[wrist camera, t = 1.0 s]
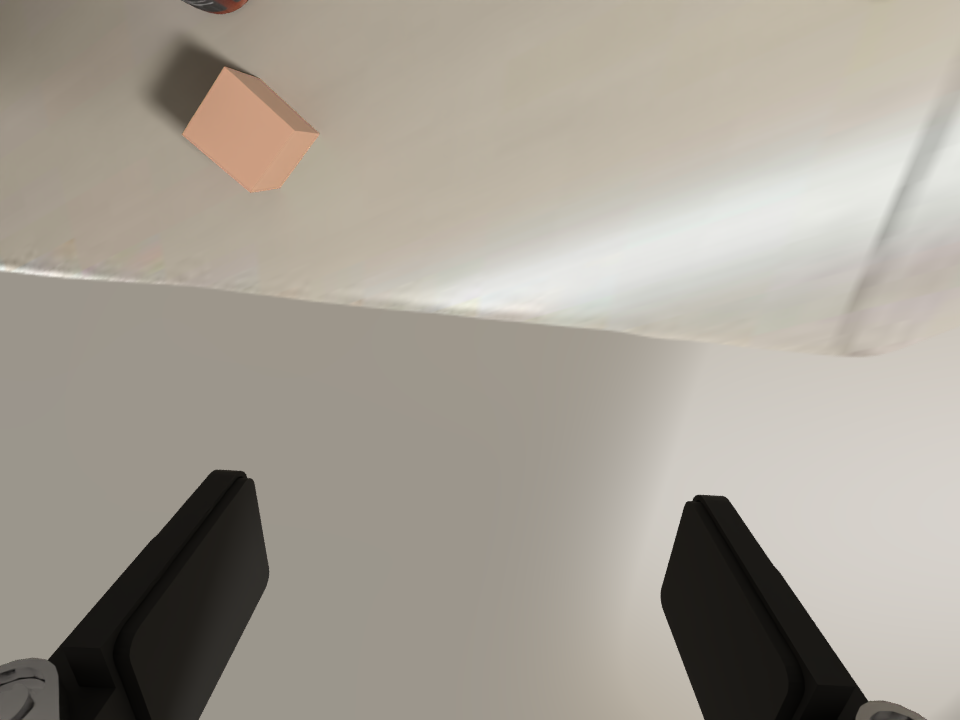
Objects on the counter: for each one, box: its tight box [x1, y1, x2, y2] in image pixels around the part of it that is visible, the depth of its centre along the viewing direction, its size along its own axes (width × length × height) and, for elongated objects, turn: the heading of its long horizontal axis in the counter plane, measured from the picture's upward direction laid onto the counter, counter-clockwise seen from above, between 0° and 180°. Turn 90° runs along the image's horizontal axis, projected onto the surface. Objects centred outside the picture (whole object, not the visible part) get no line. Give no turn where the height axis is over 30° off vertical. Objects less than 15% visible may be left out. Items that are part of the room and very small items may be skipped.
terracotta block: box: [182, 66, 319, 193], centre depth 32 cm, size 5×5×5 cm
